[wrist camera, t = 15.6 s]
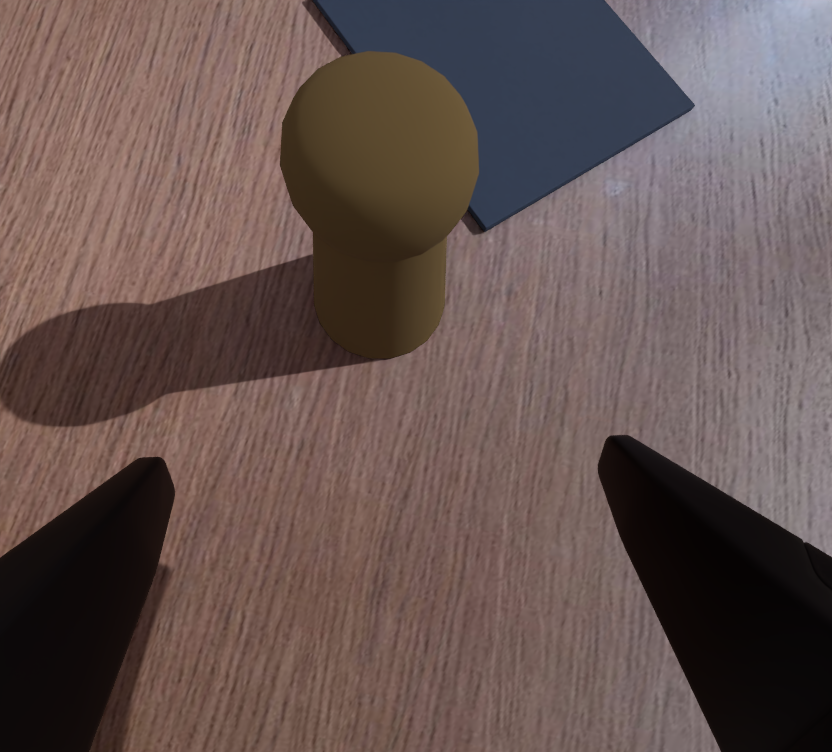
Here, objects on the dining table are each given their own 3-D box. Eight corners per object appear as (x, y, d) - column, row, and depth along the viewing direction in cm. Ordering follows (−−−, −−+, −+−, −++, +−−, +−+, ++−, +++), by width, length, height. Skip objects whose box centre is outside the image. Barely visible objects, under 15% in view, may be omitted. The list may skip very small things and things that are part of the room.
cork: (452, 247, 22) (522, 31, 11) (435, 368, 21) (497, 252, 10) (326, 226, 22) (277, -16, 11) (301, 347, 20) (217, 204, 10)
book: (690, 111, 25) (695, 105, 25) (484, 232, 22) (486, 228, 22) (517, -90, 27) (519, -99, 27) (311, -1, 25) (310, -8, 24)
